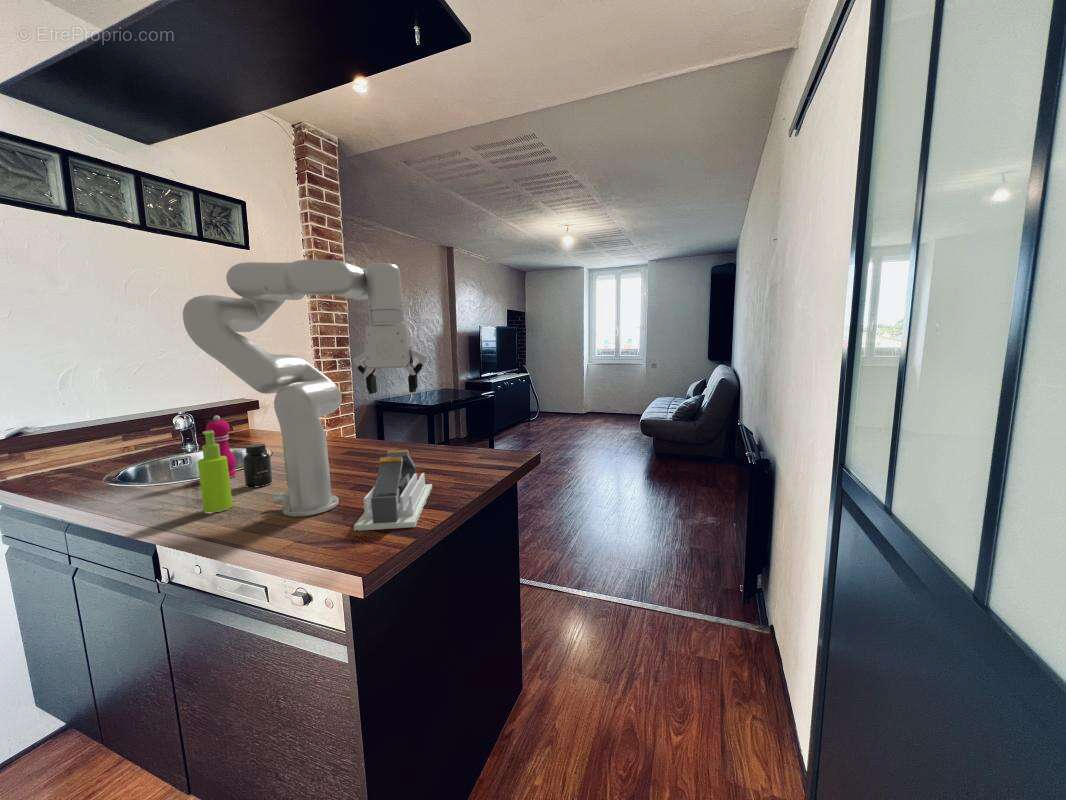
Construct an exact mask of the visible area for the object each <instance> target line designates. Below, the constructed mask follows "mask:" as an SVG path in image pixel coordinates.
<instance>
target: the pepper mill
mask: <svg viewBox="0 0 1066 800" xmlns="http://www.w3.org/2000/svg"><path fill="white" fill-rule="evenodd" d="M212 419H213V420H211V421H209V422H208V423H207V425H206V427H205V431H211V430H213V431H214V432H215V435H214V441H215V443H217V444H219V447H220V455H221V456H226V457H227V462H228V470H229V477H230V476H233V475H235V474H236V475H237V472H236V469H234V468H235V466H237V459H236V458H235V456H234V454H233V453H232V451H231V449H230V446H229V441H228V440H229V439H230V437H229V434H228V433H229V432H230V430H231V429H230V424H229V423H228V422H227V421H225V420H221V417H220V416H219V415H214V416H213V417H212Z"/></svg>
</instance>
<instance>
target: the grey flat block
mask: <svg viewBox="0 0 1066 800" xmlns="http://www.w3.org/2000/svg"><path fill="white" fill-rule="evenodd" d="M378 462H379V466H378V468H377V475H376V480H375V484H374V486H375V487H374V486H373V487H374V491H373V496H374V497H376V496H394V495H396V496H397V492H398V486H399V481H400V475H401V470H402V464H403V459H402V457H387V456H385V457H380V458H379V461H378Z"/></svg>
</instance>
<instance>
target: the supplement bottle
mask: <svg viewBox="0 0 1066 800" xmlns="http://www.w3.org/2000/svg"><path fill="white" fill-rule="evenodd" d="M266 451H267V449H266V444H265V443H256V444H255V443H254V444H249V445H246V446H245V453H246V455H244V456H243V458H242V462H243V464H242V465H243V475H244V484H245V487H246V486H248V487H255V486H262V485H266V484H269V483H271V482H272V483H273V474H272V473H273V472H272V460H271V455H270V454H269V453H268V452H266ZM272 483H271V484H272ZM269 485H270V484H269ZM248 487H247V488H248Z"/></svg>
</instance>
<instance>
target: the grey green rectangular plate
mask: <svg viewBox="0 0 1066 800" xmlns="http://www.w3.org/2000/svg"><path fill="white" fill-rule="evenodd" d="M386 451H387V452H386V457H402V459H403V464H402V469H413V468H415V466H416V464H415V462H414V460H413V459H412V457H411V455H410V454H409V453H410V452H409V449H393V450H391V449H390V450H386Z"/></svg>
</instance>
